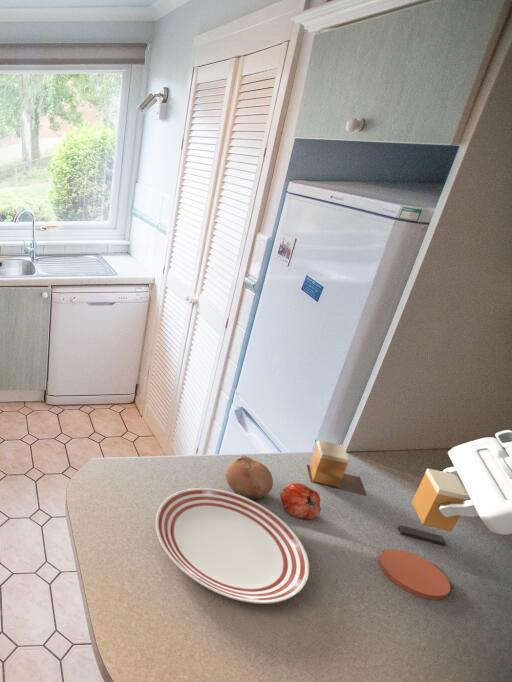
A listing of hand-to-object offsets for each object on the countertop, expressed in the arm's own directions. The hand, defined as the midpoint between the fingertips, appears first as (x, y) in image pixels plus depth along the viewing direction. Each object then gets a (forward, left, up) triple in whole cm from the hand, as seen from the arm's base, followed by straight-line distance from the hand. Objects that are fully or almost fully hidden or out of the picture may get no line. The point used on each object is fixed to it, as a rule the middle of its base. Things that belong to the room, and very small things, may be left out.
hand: (435, 497), depth 80 cm
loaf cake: (+7, -22, -17) cm, 29 cm away
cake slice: (-1, 0, -4) cm, 4 cm away
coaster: (-1, +2, -17) cm, 17 cm away
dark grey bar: (+2, -9, -17) cm, 19 cm away
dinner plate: (+31, +10, -17) cm, 37 cm away
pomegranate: (+17, -7, -17) cm, 25 cm away
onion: (+27, -9, -17) cm, 33 cm away
